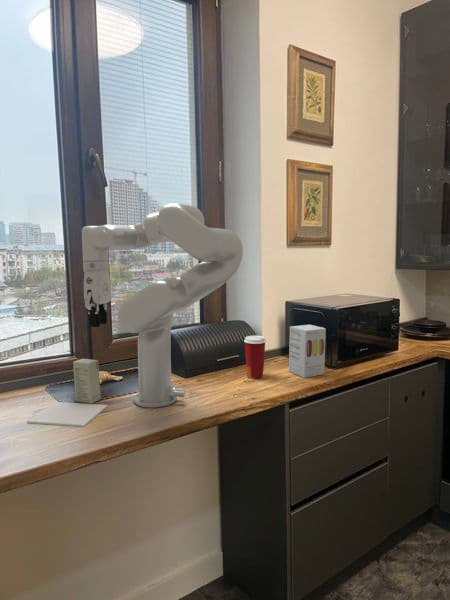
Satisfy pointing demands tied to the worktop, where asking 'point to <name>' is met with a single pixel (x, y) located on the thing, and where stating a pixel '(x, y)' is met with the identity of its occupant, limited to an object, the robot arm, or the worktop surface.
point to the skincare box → (87, 380)
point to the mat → (68, 414)
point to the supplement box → (307, 350)
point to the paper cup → (255, 356)
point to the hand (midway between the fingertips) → (98, 324)
